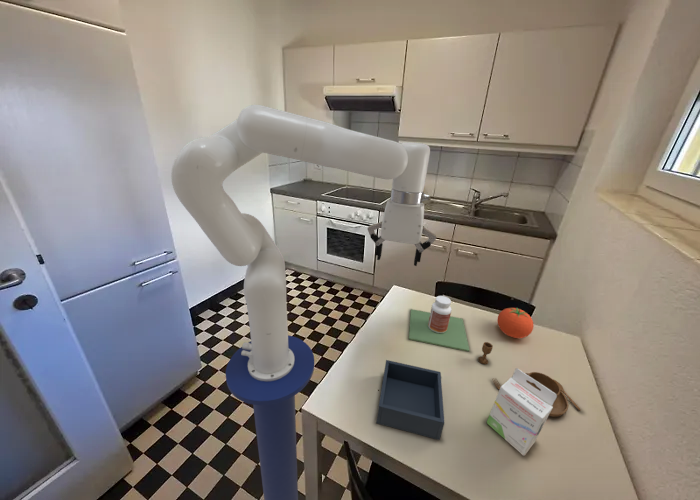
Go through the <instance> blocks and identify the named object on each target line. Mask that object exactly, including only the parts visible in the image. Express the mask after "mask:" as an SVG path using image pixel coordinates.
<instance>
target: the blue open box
mask: <svg viewBox="0 0 700 500" xmlns="http://www.w3.org/2000/svg"><path fill="white" fill-rule="evenodd" d="M383 370H384V371H383V375H382V382H381V389H380V396H379V401H378V408H377V415H376V422H375V423H376V424H378V425H381V426H384V427H385V426H386V427H389V428H393V429H397V430H401V431H404V432H408V433H412V434H415V435H419V436H423V437H427V438H429V439H434V440H437V441H440V440H441V438H442V437H441V436H442V433H443V429H444V426H445V411H444V399H443V398H444V397H443V384H442V373H441V371H439V370H434V369H429V368H425V367H421V366H416V365H413V364H412V365H411V364H407V363H402V362H397V361H393V360H389V359H386V360H385V366H384V369H383Z"/></svg>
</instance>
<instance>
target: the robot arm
mask: <svg viewBox="0 0 700 500" xmlns="http://www.w3.org/2000/svg"><path fill="white" fill-rule="evenodd" d="M261 154H268V155H273V156H278V157H283V158H287V159H292V160H297V161H300V162H305V163H309V164H313V165H317V166H318V165H319V166H322V167H326V168H332V169H337V170H342V171H345V172H350V173H354V174H357V175H362V176H367V177H372V178H377V179H381V180H392V183H391V191H390V198H389V199H387V200H386V204H385V208H384V212H383V217H382V221H379V222H377V223H373V224H371V225H368V227H367V232H368V233H369V234H368V235H369V236H370V239H371V240H372V241H373V242H374V244H375V254H374V255H375V256H376V260H377V261H380V260H381V258H382V253H383V246H384V245H383V243H384V242H385V241H388V242H394V243H401V244H408V245H414V247H415V253H414V259H413V266H415V267H417V266H418V263H421V259H422V253H423V252H424V251H425V250H427V249H428V248H430V247H431V245H432V244H434V242H435V241H436V239H437V235H436V234H435V233H433V232H432V231H431V230H429V229H427V228H426V227H424V221H425V203H423V202H424V201H429V198H430V194H426V193H425V192H424V190H425V184H426V179H427V172H428V168H429V161H430V156H431V147H430V146H429V145H428V144H426V143H423V142H422V143H421V142H411V141H410V142H409V141H403V142H397V141H395V140H392V139H388V138H383V137H380V136H376V135H371V134H368V133H364V132H360V131H356V130H352V129H349V128H346V127H342V126H340V125H337V124H334V123H331V122H327V121H323V120H320V119H316V118H312V117H308V116H305V115H300V114H298V113H297V114H296V113H293V112H289V111H286V110H282V109H278V108H274V107H270V106H267V105H261V104H251V105H247V106H245V107H244V108H243V109H242V110H241V111H240V112H239V114H238V117H237V118H236V119H235V120H233V121H232V122H230V123H229V124H227V125H226V126H224V127H223V128H220V129H219V130H218V131H216V132H214V133H212V134H211V135H209V136H203V137H202V136H201V137H197V138H195V139H193V140H191V141H189V142H187V144H185V145H183V147H182V148H181V149H180V150H179V151H178V153H177V154H176V157H175V159H174V161H173V163H172V167H171V175H170V178H171V183H172V184H171V185H172V188H173V191H174V194H175V195H176V197H177V198H178V200H179V202H180V203H181V205H182V206H183V207H184V208H185V210H186V211H187V212H188V214H189V215H190V216H191V217H192V218H193V220H194V221H195V222H196V224H197V225H198V226H199V227H200V229H201V230H202V231H203V233H204V235H205V236H206V237H207V238H208V240H209V241H210V242H211V243H212V245H213V246H214V247H215V249H216V250H217V251H218V253H219V254H220V255H221V256H222V258H223V259H224V260H225V261H226V262H227V263H229V264H231V265H234V266H236V267H245V266H247V267H246V270H245V275H244V279H243V280H244V281H243V295H244V299H245V305H246V309H247V317H248V325H249V334H250V341H251V343H248V342H246V341H245V342H243V343H242V345H241V347H242V349H245V350H251V351H250V352H248V351H245V350H243V351H242V352H241V355H243V356H248V357H249V361H248V371H249V373H250V375H251V376H252V377H253V378H255V379H257V380H260V381H274V380H277V379H280V378H282V377H284V376H285V375H287V374H288V373H289V372H290V371H291V369H292V368H293V366H294V361H295V360H294V354H293V352H292V351H291V350H290V349H289V348H288V335H289V329H288V309H287V307H288V306H287V305H288V303H287V273H286V272H287V271H286V261H285V258H284V255H283V254H282V252H281V250H280V248H279V247H278V246H277V244H276V243H275V241H274V240H273V238H272V236H271V235H270V234H269V232H268V230H267V229H266V227H265V226H264V224H263V223H262V222H261V221H260V220H259V219H258V218H256V216H254V215H252V214H249V213H245V212H244V213H243V212H241V211H240V209H239V208H238V206H237V204H236V203H235V202H234V200H233V198H231V197H230V195H229V194H228V193H227V192H226V190H225V189H224V186H223V184H224V181H225V180H226V179H227V178H228V177H230V176H231V175H232V174H233V173H234V172H235V171H236V170H239V169H240V168H241V167H242V166H245V165H246V164H248V163H249V162H250V161H252V160H254V159H256V157H258V156H261ZM378 229H379V230H380V235H379V236H378V235H377V234H376V232H375V230H378ZM422 235H423V236H425V237H427V240H425V241H424V242H422V241H421V240H422Z"/></svg>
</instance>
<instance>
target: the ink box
mask: <svg viewBox="0 0 700 500" xmlns="http://www.w3.org/2000/svg"><path fill="white" fill-rule="evenodd" d="M525 373H526V372H524V371H523V370H521V369H519V368H518V367H516V368H514V371H513V373H512V377H511V376H510V377H509V378H508V380H506V381H505V382H504V383H503V384H502V385H500V386H501V387H500V386H499V387H500V390H499V389H498V393H497V395H496V398H495V399H494V402H493V405H492V407H491V410H490V412H489V414H488V417H487V420H486V425H488V426H489V427H490V428H491V429H493V431H495V432H496V433H497V434H498V435H499V436H500V437H501V438H503V439H504V440H505V442H507V443H508V444H509V445H511V446H512V447H513V448H514V449H515V450H516V451H518V452H519V453H520V454H521V455H522V456H526V455H527V454H528V453H529V451H530V449H531V448H532V447H533V445H534V444H535V443H536V441H537V439H538V437H539V435H540V433H541V432H542V429H543V428H544V426H545V424H546V422H547V420H548V418H549V417H550V416H549V414H550V412H551V410H552V408H553V406H552V405H553V403H554V401H555V399H556V397H557V395H556V394H555V393H554V392H552V391H551V390H549V389H548V388H546V387H545V386H543V385H542V384H541V383H539V382H537V381H536V380H534V379H533V378H531V377H530V376H528V375H527V374H525ZM526 380H528V381H530V382H531V383H534V384H536V386H537V387H538V388H540V389H541V391H539V390H537V389H536V388H535V387H533V386H532V385H530V384H529V383H527V382H526Z"/></svg>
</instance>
